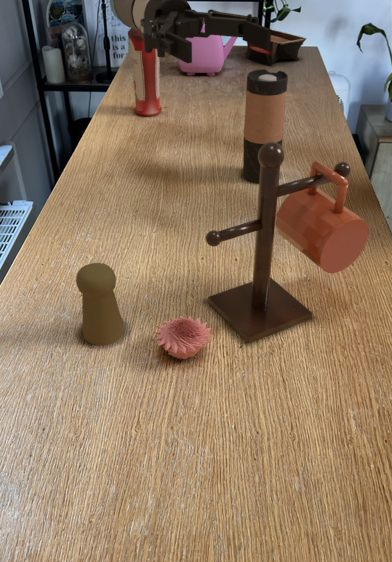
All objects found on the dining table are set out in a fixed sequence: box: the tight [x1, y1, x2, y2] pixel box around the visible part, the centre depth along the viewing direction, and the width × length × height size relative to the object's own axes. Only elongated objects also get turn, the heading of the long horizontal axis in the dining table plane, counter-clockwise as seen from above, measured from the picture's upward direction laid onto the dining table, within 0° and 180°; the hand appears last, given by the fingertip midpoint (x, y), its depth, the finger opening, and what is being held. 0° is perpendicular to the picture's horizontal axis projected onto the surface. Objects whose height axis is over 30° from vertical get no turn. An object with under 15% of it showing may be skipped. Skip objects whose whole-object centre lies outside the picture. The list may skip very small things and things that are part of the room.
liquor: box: [127, 27, 163, 117], centre depth 139 cm, size 7×7×28 cm
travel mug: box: [242, 68, 289, 185], centre depth 114 cm, size 8×8×20 cm
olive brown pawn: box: [75, 262, 125, 346], centre depth 80 cm, size 6×6×11 cm
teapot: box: [176, 24, 238, 77], centre depth 170 cm, size 20×12×13 cm, turn 86°
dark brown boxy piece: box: [246, 28, 307, 66], centre depth 180 cm, size 14×18×10 cm
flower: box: [152, 314, 214, 360], centre depth 78 cm, size 8×8×6 cm
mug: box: [275, 160, 370, 274], centre depth 80 cm, size 13×8×10 cm
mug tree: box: [205, 142, 352, 344], centre depth 79 cm, size 22×11×26 cm, turn 120°
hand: (230, 46), depth 86 cm, fingers open, 13 cm apart
